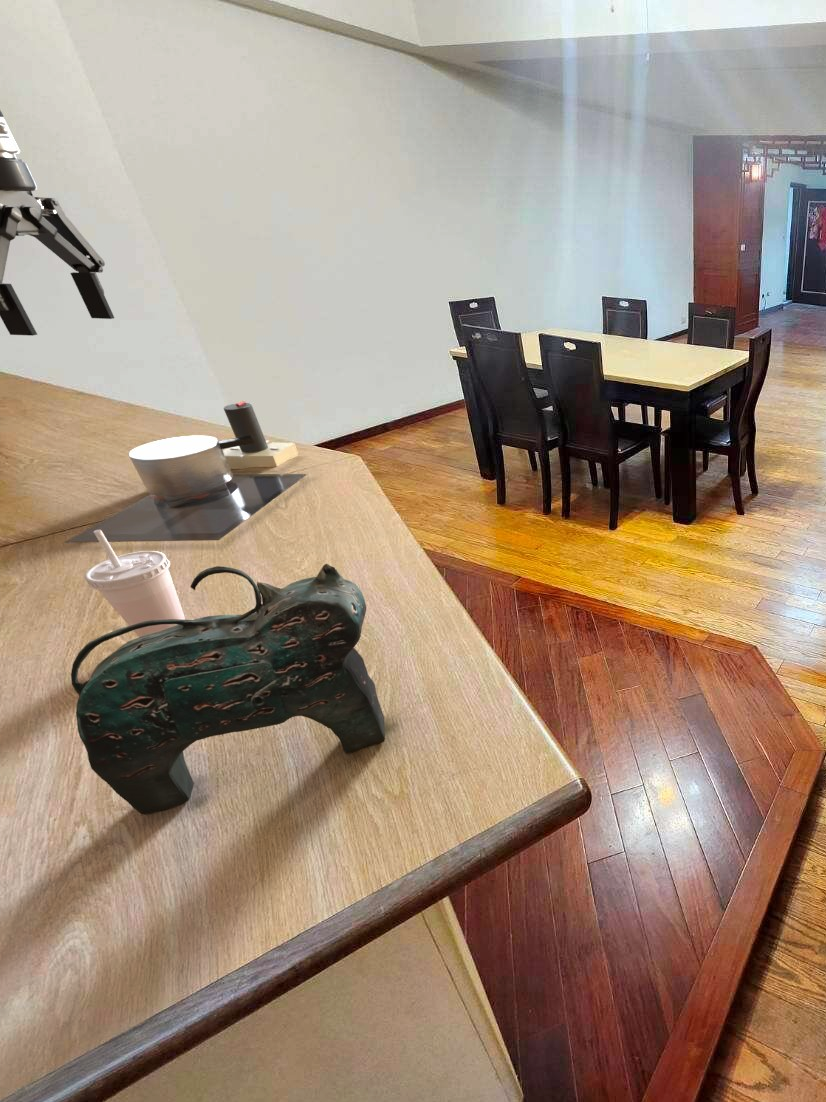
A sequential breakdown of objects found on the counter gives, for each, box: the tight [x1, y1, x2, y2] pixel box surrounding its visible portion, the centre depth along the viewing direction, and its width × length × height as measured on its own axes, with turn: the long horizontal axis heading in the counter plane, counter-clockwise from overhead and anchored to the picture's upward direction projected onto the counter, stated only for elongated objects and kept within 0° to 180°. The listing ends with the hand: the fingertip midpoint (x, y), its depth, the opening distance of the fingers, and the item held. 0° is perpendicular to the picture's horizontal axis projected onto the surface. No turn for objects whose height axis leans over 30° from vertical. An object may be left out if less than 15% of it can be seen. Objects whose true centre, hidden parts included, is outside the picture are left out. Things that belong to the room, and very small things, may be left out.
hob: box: [65, 473, 308, 543], centre depth 93 cm, size 20×24×1 cm
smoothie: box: [84, 530, 186, 638], centre depth 63 cm, size 6×6×14 cm
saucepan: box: [128, 435, 254, 502], centre depth 98 cm, size 16×11×7 cm
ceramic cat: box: [70, 563, 386, 815], centre depth 47 cm, size 20×6×20 cm, turn 118°
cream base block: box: [222, 440, 299, 470], centre depth 109 cm, size 10×8×3 cm
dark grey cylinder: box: [223, 400, 268, 453], centre depth 106 cm, size 4×4×8 cm
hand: (66, 326), depth 87 cm, fingers open, 13 cm apart
